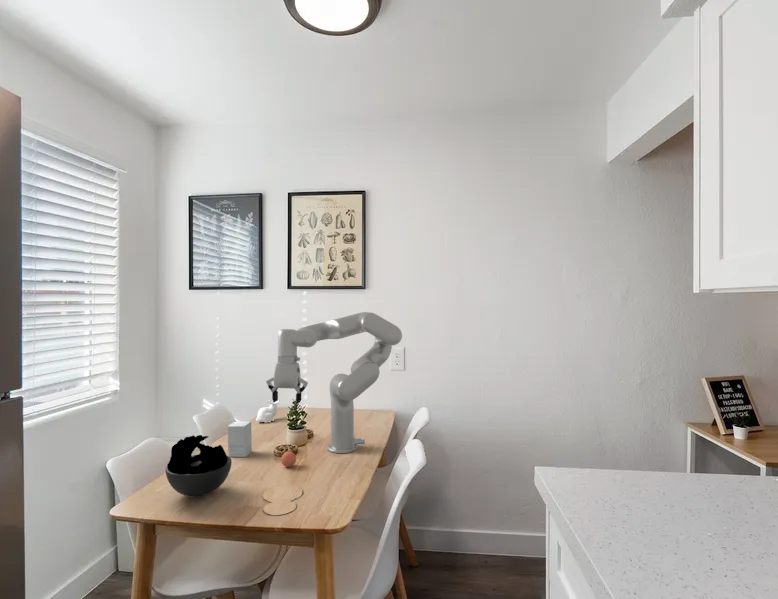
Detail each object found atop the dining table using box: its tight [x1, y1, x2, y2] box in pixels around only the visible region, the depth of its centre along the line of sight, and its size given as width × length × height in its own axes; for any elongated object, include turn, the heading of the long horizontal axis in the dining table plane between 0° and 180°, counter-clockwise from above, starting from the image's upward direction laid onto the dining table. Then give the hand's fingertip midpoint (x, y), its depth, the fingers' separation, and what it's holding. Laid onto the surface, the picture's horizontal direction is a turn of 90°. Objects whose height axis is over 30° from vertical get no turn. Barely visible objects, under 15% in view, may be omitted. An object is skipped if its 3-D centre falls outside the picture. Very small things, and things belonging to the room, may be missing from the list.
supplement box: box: [227, 421, 253, 458], centre depth 189 cm, size 7×7×13 cm
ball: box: [280, 451, 297, 468], centre depth 175 cm, size 6×6×6 cm
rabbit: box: [255, 398, 280, 423], centre depth 238 cm, size 12×9×12 cm
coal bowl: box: [165, 434, 233, 498], centre depth 151 cm, size 20×20×19 cm
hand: (286, 402), depth 186 cm, fingers open, 9 cm apart
